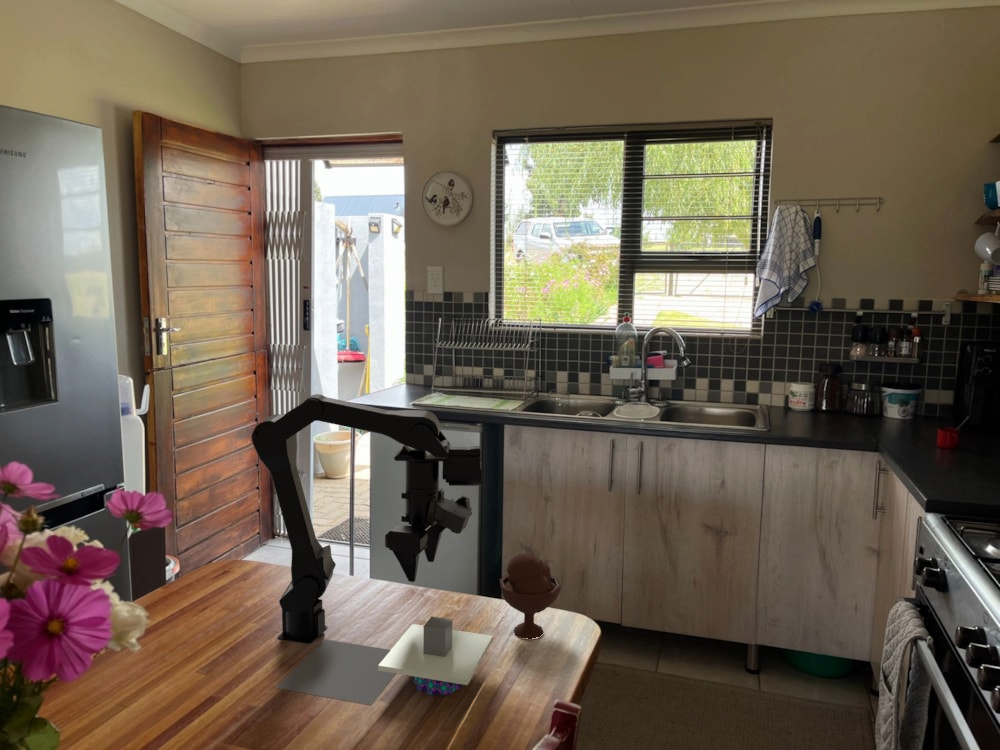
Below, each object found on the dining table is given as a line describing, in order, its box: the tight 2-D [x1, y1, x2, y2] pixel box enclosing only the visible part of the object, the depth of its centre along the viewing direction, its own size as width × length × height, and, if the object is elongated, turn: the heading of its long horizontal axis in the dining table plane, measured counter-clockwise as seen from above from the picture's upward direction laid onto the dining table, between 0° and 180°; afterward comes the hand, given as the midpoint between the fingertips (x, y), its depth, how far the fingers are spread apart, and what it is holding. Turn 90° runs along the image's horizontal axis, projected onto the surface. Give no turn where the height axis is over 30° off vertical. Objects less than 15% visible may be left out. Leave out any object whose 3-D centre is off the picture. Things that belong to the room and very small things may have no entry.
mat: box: [274, 639, 397, 706], centre depth 121 cm, size 16×16×1 cm
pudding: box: [413, 676, 464, 697], centre depth 118 cm, size 12×12×5 cm
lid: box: [378, 616, 494, 686], centre depth 118 cm, size 14×14×5 cm
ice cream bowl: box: [499, 552, 562, 639], centre depth 135 cm, size 11×11×15 cm
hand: (421, 571), depth 132 cm, fingers open, 9 cm apart
